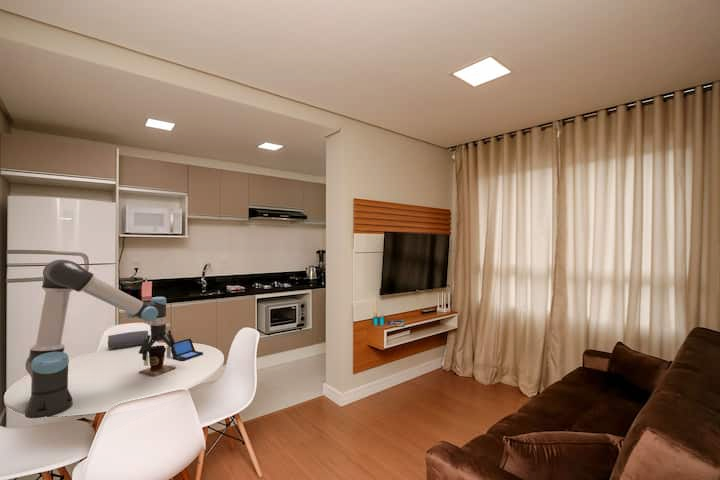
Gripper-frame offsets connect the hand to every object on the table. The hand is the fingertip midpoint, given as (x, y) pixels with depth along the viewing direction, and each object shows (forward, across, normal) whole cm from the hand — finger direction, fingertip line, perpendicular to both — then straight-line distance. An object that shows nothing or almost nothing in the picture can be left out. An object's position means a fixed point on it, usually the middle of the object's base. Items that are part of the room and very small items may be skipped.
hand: (157, 361), depth 189 cm
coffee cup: (+5, -1, 0) cm, 5 cm away
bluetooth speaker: (+6, +21, +60) cm, 64 cm away
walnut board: (+5, 0, 0) cm, 5 cm away
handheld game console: (+6, +24, +7) cm, 26 cm away
